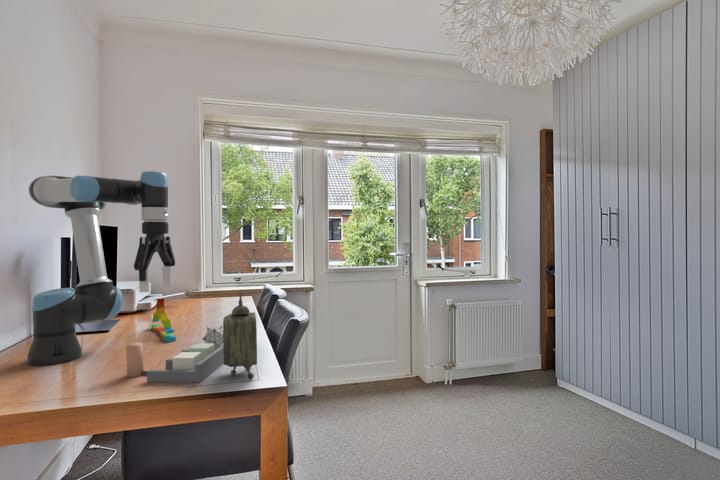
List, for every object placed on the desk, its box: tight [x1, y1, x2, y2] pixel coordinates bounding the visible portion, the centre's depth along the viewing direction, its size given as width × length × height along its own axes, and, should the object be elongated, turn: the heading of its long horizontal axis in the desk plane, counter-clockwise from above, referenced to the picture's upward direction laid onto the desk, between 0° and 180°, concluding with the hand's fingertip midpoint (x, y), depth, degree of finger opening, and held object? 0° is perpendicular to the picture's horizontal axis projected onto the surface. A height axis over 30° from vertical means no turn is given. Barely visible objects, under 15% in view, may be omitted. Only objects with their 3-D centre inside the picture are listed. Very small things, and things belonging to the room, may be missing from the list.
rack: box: [146, 345, 224, 383], centre depth 132 cm, size 16×22×5 cm
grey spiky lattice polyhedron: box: [202, 325, 223, 349], centre depth 155 cm, size 9×8×10 cm
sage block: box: [188, 342, 216, 359], centre depth 137 cm, size 6×6×6 cm
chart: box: [150, 298, 177, 343], centre depth 178 cm, size 30×3×15 cm, turn 37°
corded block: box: [125, 342, 202, 378], centre depth 127 cm, size 21×6×9 cm, turn 87°
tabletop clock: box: [222, 290, 258, 380], centre depth 126 cm, size 14×9×25 cm, turn 17°
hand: (156, 289), depth 134 cm, fingers open, 13 cm apart
